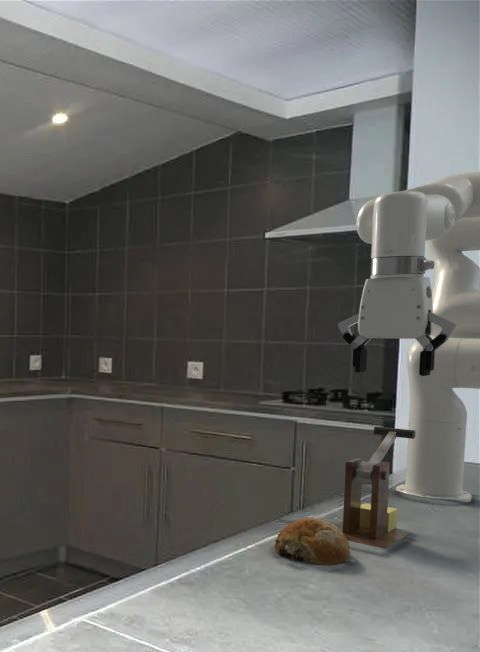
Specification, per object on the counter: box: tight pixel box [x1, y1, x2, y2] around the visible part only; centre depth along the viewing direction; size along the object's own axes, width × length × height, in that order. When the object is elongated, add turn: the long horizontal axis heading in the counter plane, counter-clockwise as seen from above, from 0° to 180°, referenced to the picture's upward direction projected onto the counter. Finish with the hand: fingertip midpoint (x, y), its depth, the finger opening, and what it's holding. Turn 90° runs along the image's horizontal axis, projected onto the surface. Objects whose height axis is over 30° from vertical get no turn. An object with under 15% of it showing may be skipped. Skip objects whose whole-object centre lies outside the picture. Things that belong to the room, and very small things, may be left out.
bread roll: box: [274, 517, 352, 566], centre depth 105 cm, size 10×10×8 cm
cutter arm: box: [356, 425, 416, 486], centre depth 117 cm, size 15×6×2 cm, turn 131°
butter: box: [359, 502, 399, 532], centre depth 118 cm, size 4×5×3 cm
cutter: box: [334, 457, 412, 550], centre depth 115 cm, size 12×10×13 cm
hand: (391, 373), depth 119 cm, fingers open, 9 cm apart
